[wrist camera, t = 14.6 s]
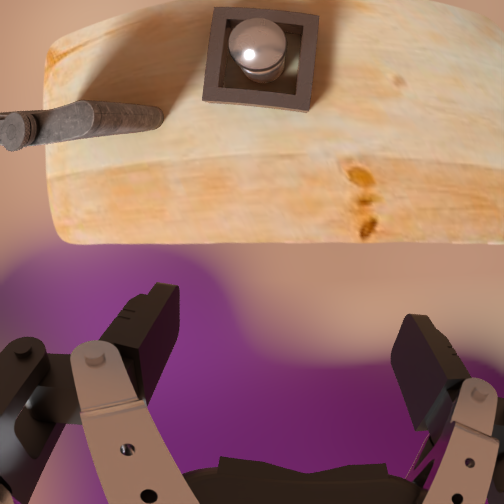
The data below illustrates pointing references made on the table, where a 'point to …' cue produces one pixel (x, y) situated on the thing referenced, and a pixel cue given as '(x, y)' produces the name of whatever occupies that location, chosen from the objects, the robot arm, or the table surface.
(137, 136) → the table surface
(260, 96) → the square frame
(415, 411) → the robot arm
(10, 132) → the flask
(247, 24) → the silver metal cylinder
